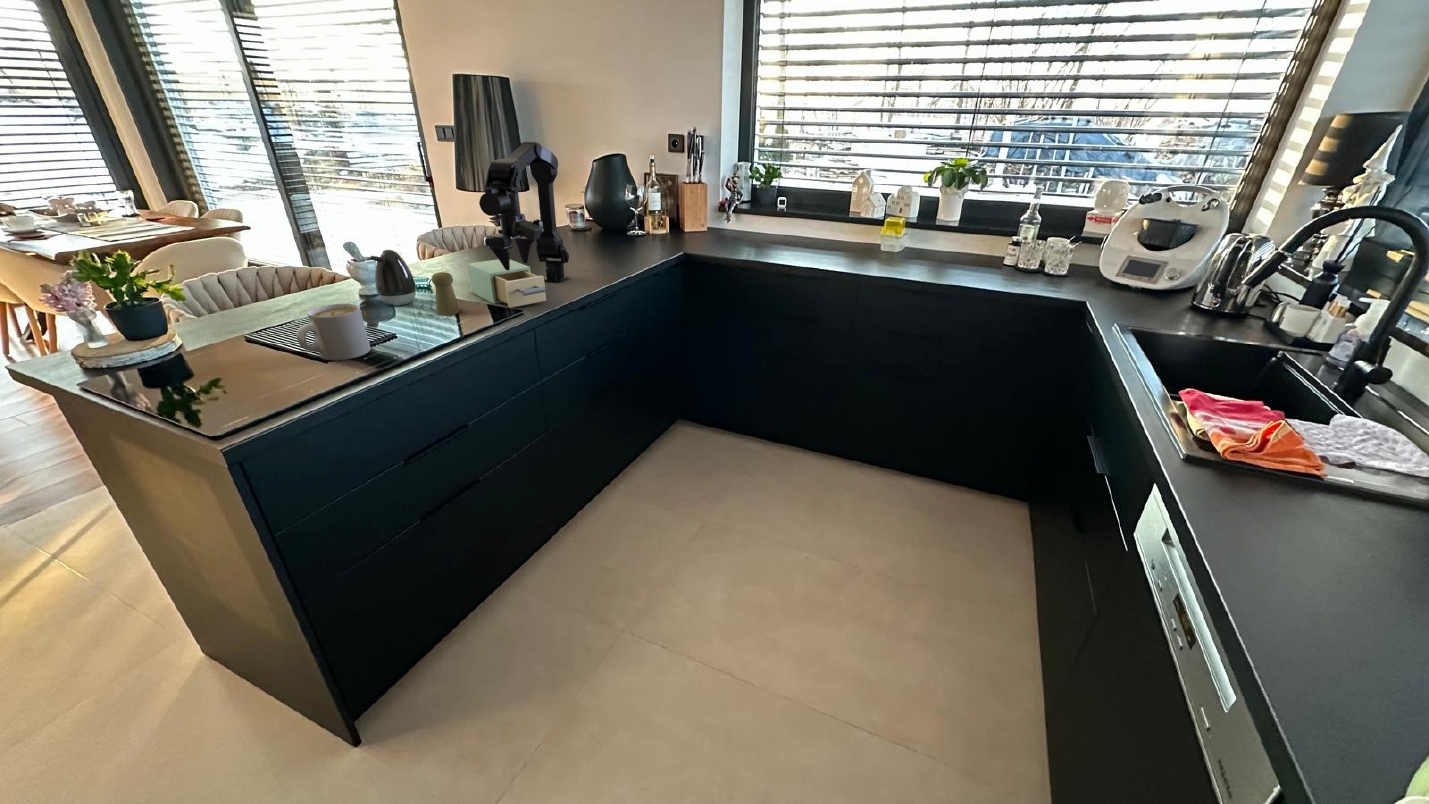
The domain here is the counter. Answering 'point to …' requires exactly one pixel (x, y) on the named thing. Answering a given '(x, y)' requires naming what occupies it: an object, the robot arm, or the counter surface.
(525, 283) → the drawer
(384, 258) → the pump dispenser
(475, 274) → the green drawer cabinet
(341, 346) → the coffee mug
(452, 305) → the pepper mill
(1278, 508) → the counter surface
